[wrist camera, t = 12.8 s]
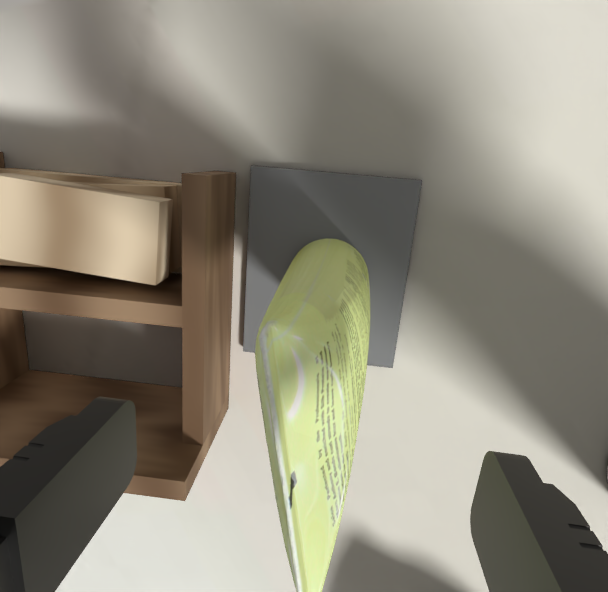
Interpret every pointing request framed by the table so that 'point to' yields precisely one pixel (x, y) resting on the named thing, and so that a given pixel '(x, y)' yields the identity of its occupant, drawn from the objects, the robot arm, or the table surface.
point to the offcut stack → (91, 224)
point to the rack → (139, 309)
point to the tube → (314, 396)
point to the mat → (333, 225)
